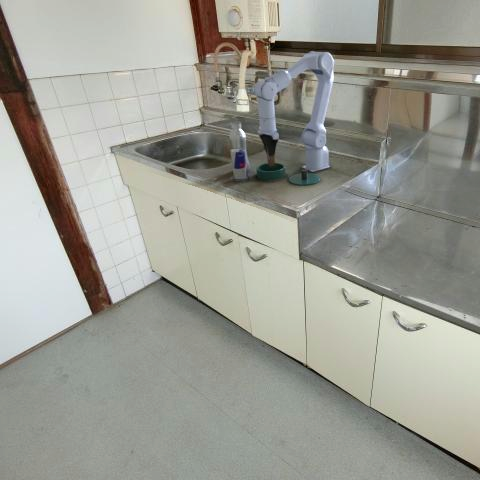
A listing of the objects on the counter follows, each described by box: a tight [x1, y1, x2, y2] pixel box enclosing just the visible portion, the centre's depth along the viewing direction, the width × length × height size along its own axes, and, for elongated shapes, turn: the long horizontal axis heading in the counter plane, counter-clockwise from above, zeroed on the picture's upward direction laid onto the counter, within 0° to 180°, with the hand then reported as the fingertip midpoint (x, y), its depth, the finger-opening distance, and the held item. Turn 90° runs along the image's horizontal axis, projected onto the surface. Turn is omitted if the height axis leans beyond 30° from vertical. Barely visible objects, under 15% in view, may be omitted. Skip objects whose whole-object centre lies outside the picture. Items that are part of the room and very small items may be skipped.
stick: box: [265, 146, 276, 167], centre depth 138 cm, size 2×2×8 cm
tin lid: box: [288, 168, 321, 187], centre depth 140 cm, size 12×12×4 cm
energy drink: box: [230, 148, 249, 182], centre depth 140 cm, size 5×5×12 cm
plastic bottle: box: [229, 121, 251, 172], centre depth 146 cm, size 6×7×20 cm
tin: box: [256, 162, 286, 181], centre depth 145 cm, size 11×11×4 cm
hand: (270, 154), depth 138 cm, fingers closed on stick, 2 cm apart
